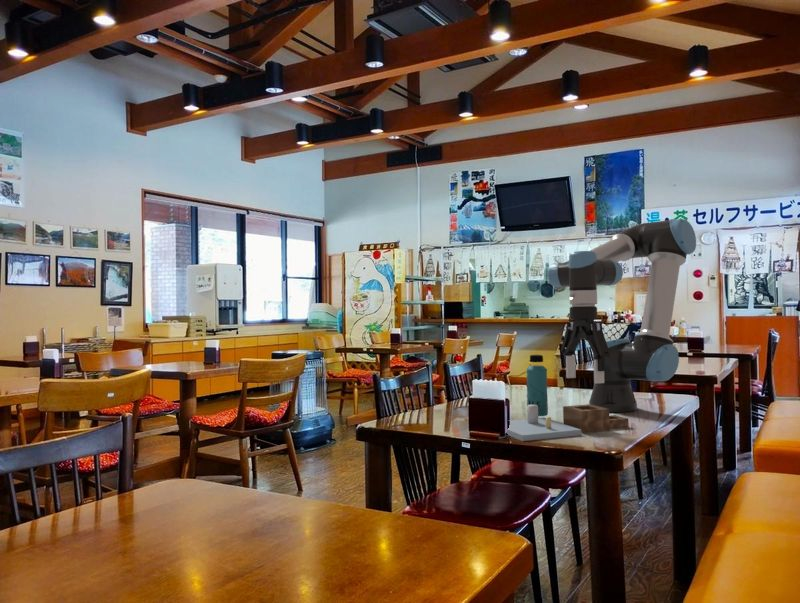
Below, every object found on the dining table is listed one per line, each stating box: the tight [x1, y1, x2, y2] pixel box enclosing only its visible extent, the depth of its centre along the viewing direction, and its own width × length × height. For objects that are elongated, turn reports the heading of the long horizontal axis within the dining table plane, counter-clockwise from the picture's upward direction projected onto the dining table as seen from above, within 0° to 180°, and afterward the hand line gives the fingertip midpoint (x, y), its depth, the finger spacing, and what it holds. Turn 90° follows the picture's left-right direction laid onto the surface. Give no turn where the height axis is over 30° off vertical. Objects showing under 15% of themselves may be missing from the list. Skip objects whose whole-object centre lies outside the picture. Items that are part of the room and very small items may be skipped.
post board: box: [507, 404, 582, 442], centre depth 172 cm, size 18×19×6 cm
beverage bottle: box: [526, 354, 549, 417], centre depth 190 cm, size 6×7×20 cm
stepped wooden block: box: [562, 403, 630, 434], centre depth 175 cm, size 16×9×6 cm, turn 108°
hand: (584, 380), depth 174 cm, fingers open, 13 cm apart
